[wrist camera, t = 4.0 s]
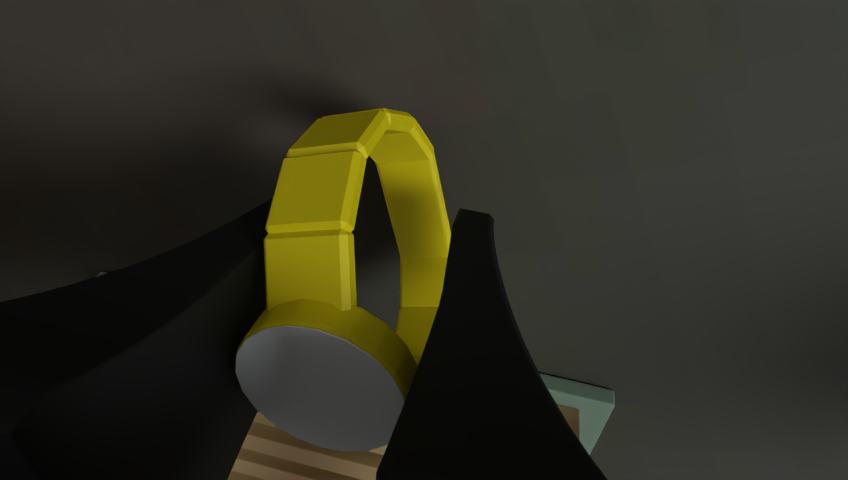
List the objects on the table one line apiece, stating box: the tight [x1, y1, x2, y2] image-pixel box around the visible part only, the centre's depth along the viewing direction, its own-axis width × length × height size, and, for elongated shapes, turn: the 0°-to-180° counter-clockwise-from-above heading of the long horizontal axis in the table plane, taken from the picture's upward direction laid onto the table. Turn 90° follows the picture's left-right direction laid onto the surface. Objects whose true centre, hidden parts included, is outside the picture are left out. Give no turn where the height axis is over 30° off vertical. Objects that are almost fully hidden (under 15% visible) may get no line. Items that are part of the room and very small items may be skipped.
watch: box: [235, 108, 451, 452], centre depth 10 cm, size 6×3×6 cm, turn 13°
